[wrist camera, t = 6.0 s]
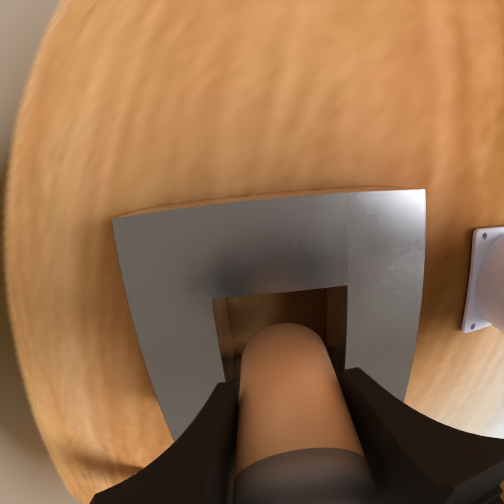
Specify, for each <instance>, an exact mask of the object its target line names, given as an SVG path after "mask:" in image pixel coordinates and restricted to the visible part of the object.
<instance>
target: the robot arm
mask: <svg viewBox="0 0 504 504" xmlns="http://www.w3.org/2000/svg"><path fill="white" fill-rule="evenodd" d="M483 233H484V237H482V236H483ZM471 325H472V326H471ZM491 325H493V326H494V327H496V328H497V329H498V330H500V331H501V332H502V333H504V226H500V227H489V228H478V229H476V230H475V231H474V233H473V241H472V256H471V267H470V276H469V285H468V292H467V299H466V305H465V311H464V317H463V322H462V331H463V332H464V333H469V332H473V331H476V330H479V329H482V328H485V327H488V326H491ZM342 393H343V396H344V398H345V401H346V404H347V407H348V409H349V412H350V415H351V418H352V420H353V423H354V426H355V429H356V432H357V435H358V437H359V440H360V443H361V446H362V449H363V452H364V455H365V458H366V461H367V464H368V467H369V470H370V473H371V476H372V479H373V482H374V485H375V488H376V495H375V497H374V499H373V500H372V502H371V503H370V504H504V502H503V500H502V499H501V497H500V495H501V494H502V493H503V490H502V488H501V486H500V484H501V483H502V482H503V481H504V439H500V438H493V437H486V436H480V435H476V434H472V433H468V432H464V431H461V430H458V429H455V428H452V427H450V426H447V425H444V424H442V423H439V422H437V421H435V420H433V419H431V418H429V417H427V416H425V415H423V414H421V413H419V412H418V411H416V410H414V409H412V408H411V407H409V406H408V405H406V404H405V403H403V402H402V401H400V400H399V399H397V398H396V397H395V396H393V395H392V394H391V393H389V392H388V391H387V390H386V389H384V388H383V387H382V386H381V385H379V384H378V383H377V382H376V381H375V380H373V379H372V378H371V377H370V376H369V375H368V374H366V373H365V372H364V371H363V370H362V369H360V368H359V367H356V368H351V369H345V370H343V384H342ZM238 409H239V403H238V397H237V391H236V386H235V382H219V383H218V384H217V385H216V386H215V388H214V390H213V391H212V393H211V395H210V397H209V398H208V400H207V401H206V403H205V404H204V406H203V407H202V409H201V410H200V412H199V413H198V414H197V416H196V417H195V419H194V420H193V421H192V422H191V424H190V425H189V426H188V427H187V429H186V430H185V431H184V432H183V433H182V435H181V436H180V437H179V438H178V439H177V440H176V441H175V442H174V443H173V444H172V445H171V446H170V447H169V448H168V449H167V450H166V451H165V452H164V453H162V454H161V455H160V456H159V457H158V458H157V459H155V460H154V461H153V462H152V463H150V464H149V465H148V466H146V467H145V468H144V469H142V470H141V471H139V472H137V473H136V474H134V475H133V476H131V477H130V478H128V479H126V480H125V481H123V482H121V483H119V484H117V485H115V486H113V487H110V488H108V489H106V490H104V491H102V492H99V493H97V494H95V495H94V497H93V499H92V500H91V502H90V504H233V488H234V472H235V456H236V440H237V424H238Z"/></svg>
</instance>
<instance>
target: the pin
mask: <svg viewBox="0 0 504 504" xmlns="http://www.w3.org/2000/svg"><path fill="white" fill-rule="evenodd" d="M375 495H376V488H375V485H374V482H373V479H372V476H371V473H370V470H369V467H368V464H367V461H366V458H365V455H364V452H363V449H362V446H361V443H360V440H359V437H358V435H357V432H356V429H355V426H354V423H353V420H352V418H351V415H350V412H349V409H348V407H347V404H346V401H345V398H344V396H343V393H342V390H341V387H340V385H339V382H338V379H337V377H336V374H335V371H334V369H333V366H332V363H331V361H330V358H329V355H328V353H327V350H326V348H325V345H324V343H323V341H322V339H321V338H320V336H319V335H318V334H317V333H316V332H314V331H313V330H311V329H310V328H308V327H306V326H303V325H300V324H294V323H281V324H275V325H271V326H269V327H266V328H264V329H262V330H260V331H259V332H257V333H256V334H255V335H253V336H252V337H251V338H250V340H249V341H248V342H247V344H246V345H245V347H244V350H243V353H242V362H241V377H240V393H239V409H238V424H237V440H236V456H235V472H234V488H233V504H370V503H371V502H372V500H373V499H374V497H375Z"/></svg>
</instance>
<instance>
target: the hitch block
mask: <svg viewBox="0 0 504 504" xmlns="http://www.w3.org/2000/svg"><path fill="white" fill-rule="evenodd" d="M112 226H113V232H114V238H115V244H116V249H117V254H118V259H119V265H120V269H121V274H122V279H123V283H124V288H125V292H126V296H127V300H128V305H129V309H130V313H131V316H132V320H133V324H134V328H135V331H136V335H137V338H138V342H139V345H140V349H141V352H142V355H143V358H144V362H145V365H146V368H147V371H148V374H149V377H150V380H151V383H152V386H153V389H154V391H155V394H156V397H157V400H158V403H159V405H160V408H161V411H162V413H163V416H164V418H165V421H166V423H167V426H168V428H169V431H170V433H171V436H172V438H173V440H174V442H175V441H176V440H177V439H178V438H179V437H180V436H181V435H182V433H183V432H184V431H185V430H186V429H187V427H188V426H189V425H190V424H191V422H192V421H193V420H194V419H195V417H196V416H197V414H198V413H199V412H200V410H201V409H202V407H203V406H204V404H205V403H206V401H207V400H208V398H209V397H210V395H211V393H212V391H213V390H214V388H215V386H216V385H217V384H218V383H219V382H235V386H236V391H237V397H238V403H239V393H240V377H241V362H242V356H241V357H235V356H234V350H233V343H232V337H231V330H230V324H229V317H228V310H227V303H226V298H228V297H240V296H251V295H262V294H272V293H282V292H292V291H301V290H311V289H319V288H326V295H327V348H326V350H327V353H328V355H329V358H330V361H331V363H332V366H333V369H334V371H335V374H336V377H337V379H338V382H339V385H340V387H341V390H342V384H343V370H345V369H351V368H356V367H359V368H360V369H362V370H363V371H364V372H365V373H366V374H368V375H369V376H370V377H371V378H372V379H373V380H375V381H376V382H377V383H378V384H379V385H381V386H382V387H383V388H384V389H386V390H387V391H388V392H389V393H391V394H392V395H393V396H395V397H396V398H397V399H399V400H400V401H402V402H404V398H405V394H406V390H407V386H408V381H409V377H410V372H411V367H412V362H413V356H414V351H415V345H416V339H417V332H418V326H419V318H420V310H421V301H422V291H423V279H424V264H425V237H426V208H425V189H415V188H404V187H393V186H371V187H350V188H333V189H318V190H304V191H291V192H280V193H268V194H258V195H248V196H238V197H229V198H220V199H212V200H204V201H196V202H188V203H180V204H173V205H166V206H159V207H152V208H146V209H142V210H139V211H135V212H132V213H129V214H125V215H122V216H119V217H115V218H112Z"/></svg>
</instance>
